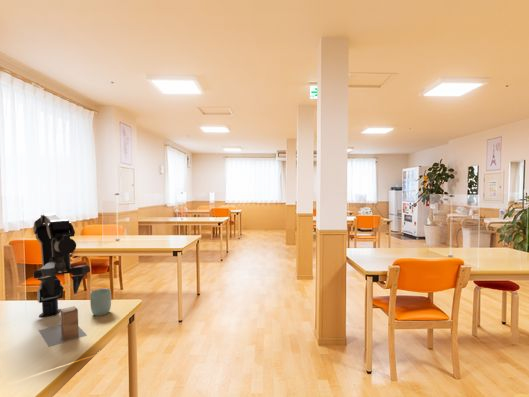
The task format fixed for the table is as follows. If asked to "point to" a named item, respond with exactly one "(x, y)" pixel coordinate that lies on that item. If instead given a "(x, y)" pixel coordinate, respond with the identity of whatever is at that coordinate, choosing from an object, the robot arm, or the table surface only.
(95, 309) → the cup
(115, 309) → the table surface
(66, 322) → the block
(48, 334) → the mat
